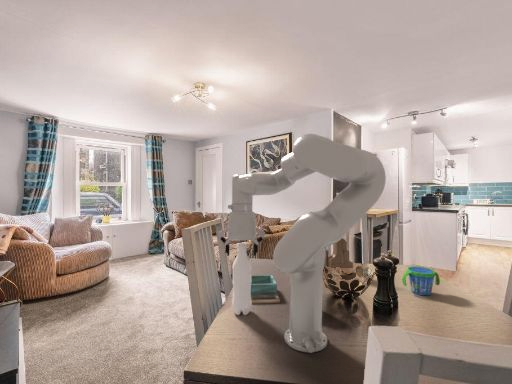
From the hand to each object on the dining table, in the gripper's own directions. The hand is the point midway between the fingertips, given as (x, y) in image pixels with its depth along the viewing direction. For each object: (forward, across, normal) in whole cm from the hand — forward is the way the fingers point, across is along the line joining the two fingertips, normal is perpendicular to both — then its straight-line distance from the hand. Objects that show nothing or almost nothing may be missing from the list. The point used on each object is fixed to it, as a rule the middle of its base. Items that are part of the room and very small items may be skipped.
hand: (241, 254), depth 99 cm
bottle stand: (+21, +10, +14) cm, 27 cm away
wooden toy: (+21, +54, +40) cm, 70 cm away
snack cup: (+21, +80, +10) cm, 83 cm away
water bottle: (+21, 0, 0) cm, 21 cm away
